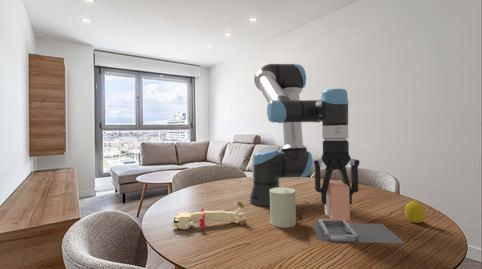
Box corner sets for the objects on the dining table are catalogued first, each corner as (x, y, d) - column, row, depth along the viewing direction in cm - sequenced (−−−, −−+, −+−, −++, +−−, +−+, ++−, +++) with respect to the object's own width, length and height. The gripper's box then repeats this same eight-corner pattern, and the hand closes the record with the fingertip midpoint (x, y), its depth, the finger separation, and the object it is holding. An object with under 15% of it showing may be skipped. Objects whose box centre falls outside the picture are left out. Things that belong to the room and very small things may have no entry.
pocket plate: (319, 243, 70) (319, 236, 70) (311, 224, 84) (311, 218, 84) (405, 246, 67) (405, 238, 67) (382, 226, 81) (382, 219, 81)
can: (280, 229, 80) (279, 193, 80) (264, 220, 88) (264, 187, 88) (301, 224, 85) (301, 189, 84) (285, 216, 93) (284, 184, 92)
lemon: (426, 228, 79) (425, 204, 79) (405, 225, 82) (405, 201, 82) (424, 223, 83) (424, 199, 83) (404, 220, 86) (404, 197, 86)
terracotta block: (325, 210, 81) (324, 180, 81) (340, 210, 80) (340, 180, 80) (332, 220, 72) (331, 186, 72) (349, 220, 71) (349, 186, 71)
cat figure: (240, 220, 93) (172, 221, 88) (241, 197, 93) (173, 197, 88) (246, 231, 83) (170, 233, 78) (248, 205, 83) (172, 205, 78)
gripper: (307, 140, 73) (308, 218, 73) (371, 139, 71) (372, 219, 71) (303, 139, 80) (305, 210, 81) (361, 138, 78) (362, 211, 79)
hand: (336, 214), depth 76 cm, fingers closed on terracotta block, 5 cm apart
